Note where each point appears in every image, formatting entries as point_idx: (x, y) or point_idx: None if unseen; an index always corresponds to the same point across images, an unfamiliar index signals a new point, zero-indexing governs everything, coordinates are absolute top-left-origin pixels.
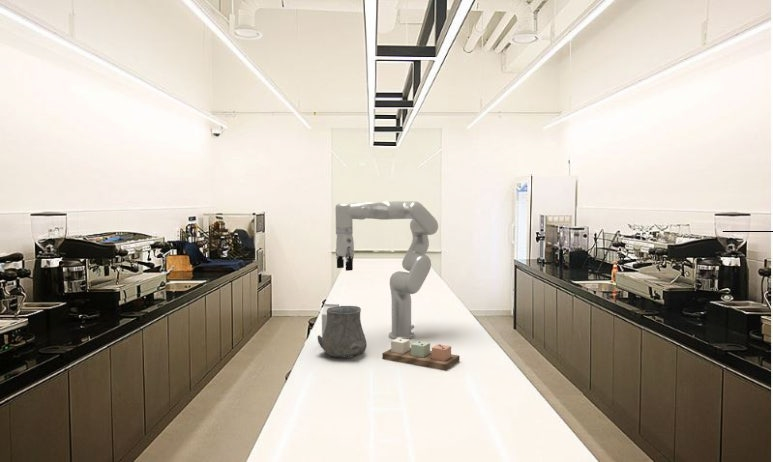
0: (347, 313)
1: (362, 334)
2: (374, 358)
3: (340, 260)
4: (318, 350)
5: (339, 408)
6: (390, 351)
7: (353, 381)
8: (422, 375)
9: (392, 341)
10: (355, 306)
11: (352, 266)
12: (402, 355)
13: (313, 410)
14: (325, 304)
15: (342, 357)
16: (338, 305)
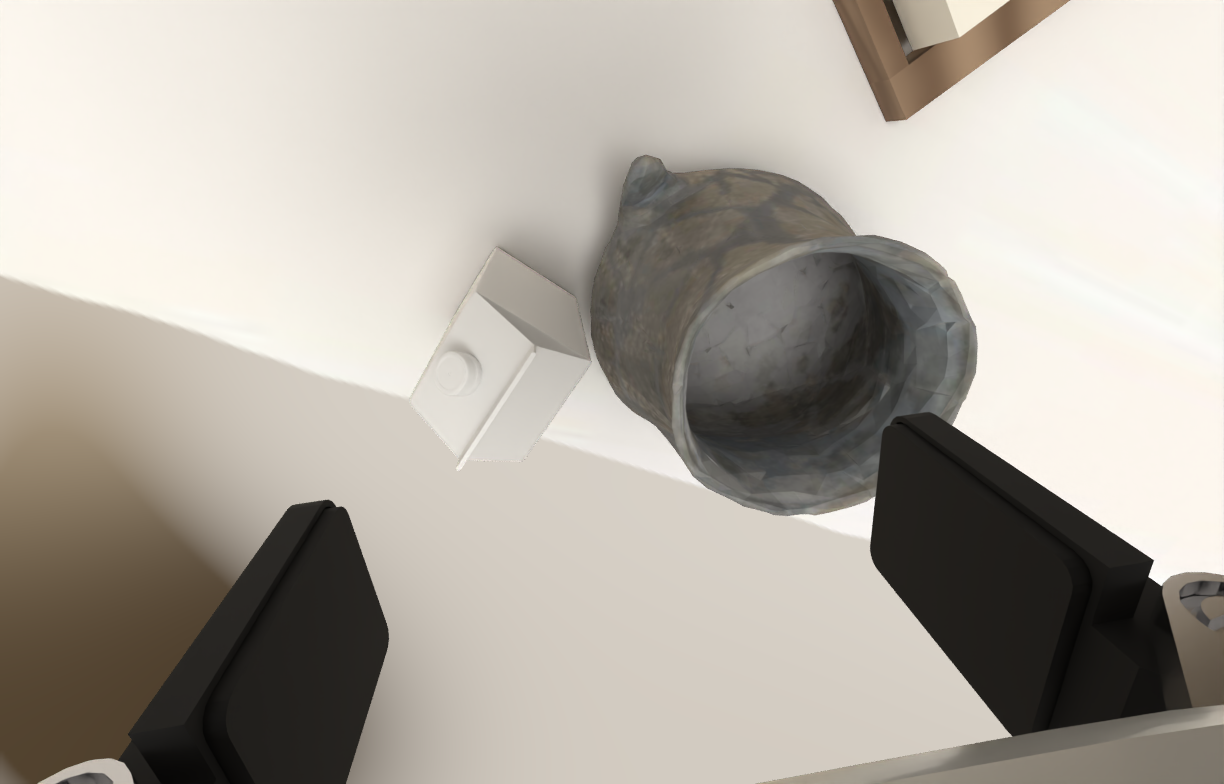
0: (964, 398)
1: (840, 222)
2: (852, 161)
3: (288, 778)
4: (582, 399)
5: (1201, 464)
6: (901, 49)
7: (1051, 362)
8: (1213, 29)
9: (968, 29)
10: (786, 260)
11: (989, 458)
12: (1015, 14)
13: (1156, 529)
14: (467, 458)
15: (788, 330)
16: (534, 354)
